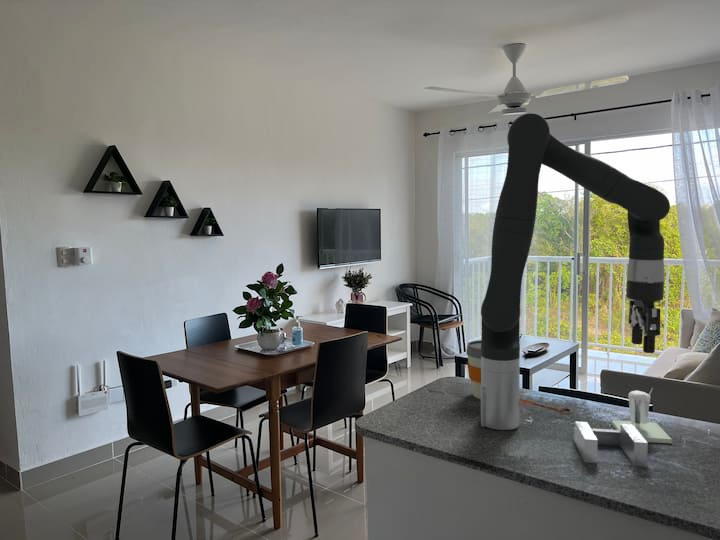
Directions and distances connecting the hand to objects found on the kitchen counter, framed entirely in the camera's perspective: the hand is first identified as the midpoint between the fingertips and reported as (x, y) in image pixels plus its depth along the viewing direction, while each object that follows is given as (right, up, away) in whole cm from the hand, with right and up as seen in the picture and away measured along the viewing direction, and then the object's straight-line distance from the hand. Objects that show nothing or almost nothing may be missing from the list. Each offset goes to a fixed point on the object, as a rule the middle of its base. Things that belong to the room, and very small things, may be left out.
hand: (642, 348), depth 122 cm
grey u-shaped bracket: (-12, -22, -9) cm, 26 cm away
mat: (0, -20, +2) cm, 20 cm away
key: (-16, -20, +20) cm, 33 cm away
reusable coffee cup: (-28, -19, +31) cm, 46 cm away
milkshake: (0, -20, +2) cm, 20 cm away
